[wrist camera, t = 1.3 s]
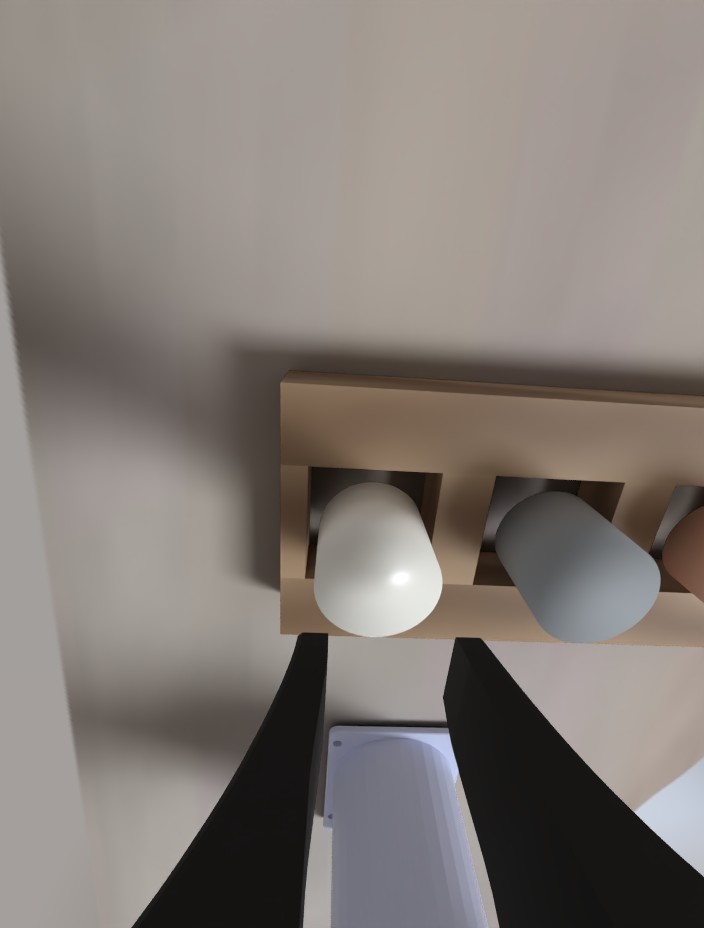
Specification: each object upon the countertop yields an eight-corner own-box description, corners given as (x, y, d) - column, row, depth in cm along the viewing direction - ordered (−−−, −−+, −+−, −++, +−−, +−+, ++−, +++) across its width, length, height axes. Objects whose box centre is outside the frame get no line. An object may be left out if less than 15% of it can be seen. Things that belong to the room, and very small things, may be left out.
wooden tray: (693, 610, 21) (737, 648, 19) (287, 595, 20) (280, 634, 18) (793, 401, 17) (865, 418, 15) (289, 370, 16) (280, 382, 14)
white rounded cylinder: (414, 572, 17) (432, 638, 13) (317, 569, 16) (311, 634, 13) (428, 484, 15) (451, 535, 12) (321, 479, 15) (315, 529, 12)
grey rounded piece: (579, 579, 17) (636, 645, 14) (486, 575, 17) (521, 641, 14) (608, 493, 15) (679, 544, 12) (506, 488, 15) (550, 539, 12)
